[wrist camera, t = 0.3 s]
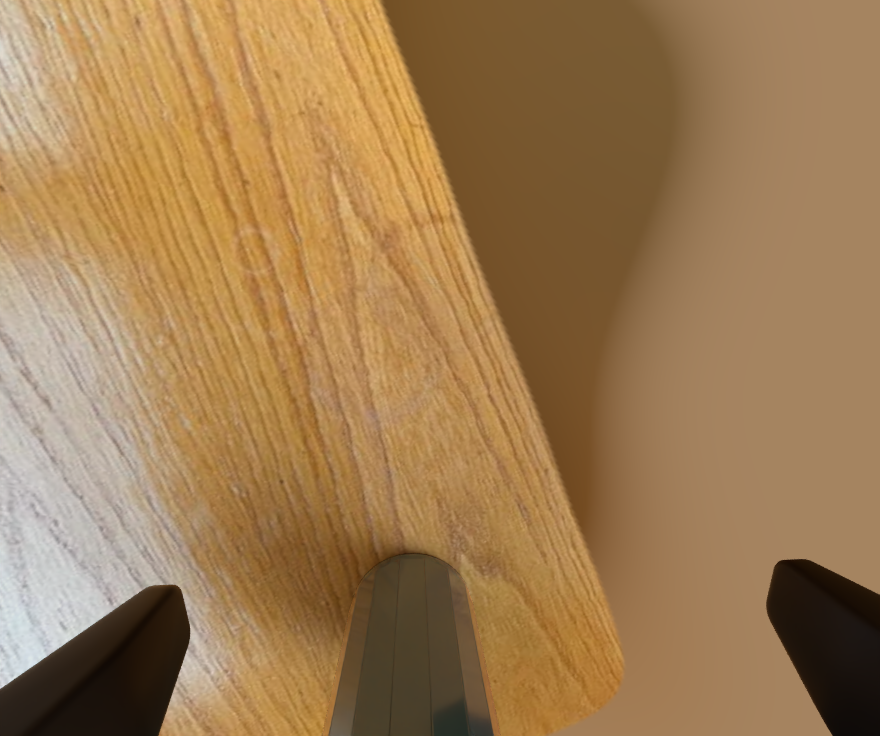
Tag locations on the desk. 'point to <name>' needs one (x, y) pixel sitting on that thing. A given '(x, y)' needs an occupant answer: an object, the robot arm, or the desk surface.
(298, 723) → the desk surface
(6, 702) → the robot arm
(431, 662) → the cup
